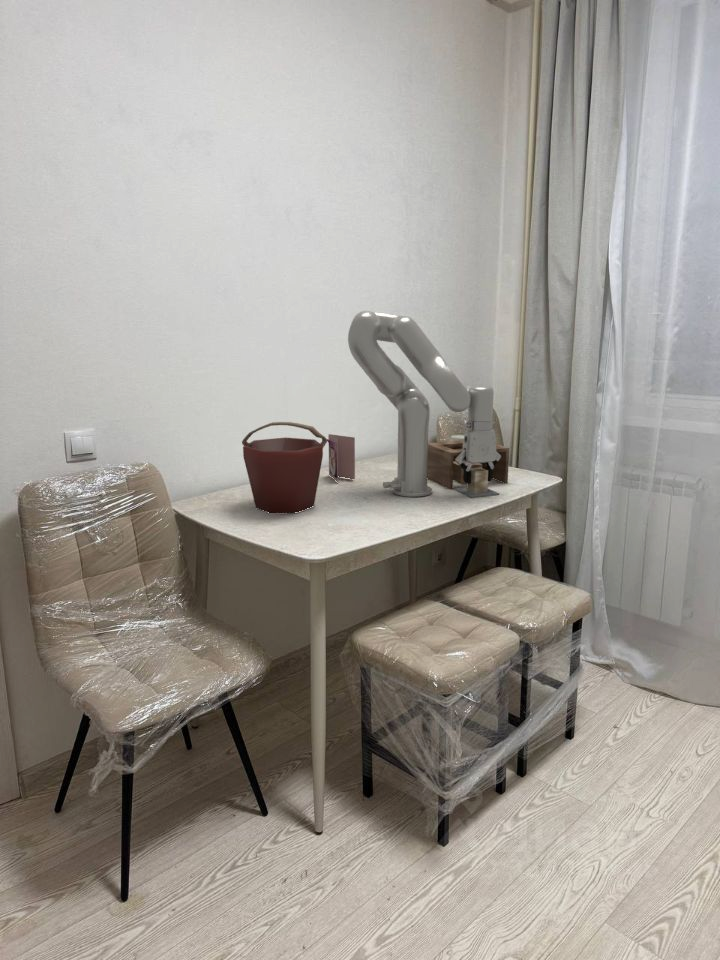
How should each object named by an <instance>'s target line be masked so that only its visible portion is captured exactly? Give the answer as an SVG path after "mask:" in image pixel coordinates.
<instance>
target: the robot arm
mask: <svg viewBox="0 0 720 960" xmlns="http://www.w3.org/2000/svg"><path fill="white" fill-rule="evenodd" d="M378 341H379V342H386V343H387V342H388V343H392V344H393V343H395V344H396V345H397V346H398V348H399V349H400V351H401V352H402V353H403V354H404V355H405V357H406V358H407V359H408V360H409V362H410V363H411V364H412V365H413V367H414V368H415V370H416V371H417V372H418V374H419V375H420V376H421V377H422V378H423V379H424V380H426V381H427V383H429V385H430V386H431V387H432V389H433V390H434V392H436V394H437V395H438V397H439V398H440V399H441V400H442V401H443V403H444V405H445V406H446V407H447V409H449V410H451V411H452V412H455V413H462V412H465V411H466V410H467V422H465V423H464V425H463V426H464V428H466V430H465V432H464V435H465V436H464V441H463V449H462V453H461V454H460V455H459V456H458V457H457V458H456V459H455V460H456V462H457V463H458V464H459V466H460V467H461V468H462V469H463V470H464V476H463V479H464V482H465V483H464V484H467V485H468V484H470V483H471V471H470V468H471V466H472V464H474V463H485V465H486V468H485V469H486V470H488V483H490V482H492V479H493V478H492V469H494V466H495V465H496V464H497V461H499V459H500V458H501V455H500V454H499V453H498V452H497V451H496V444H497V438H496V432H495V430H494V429H493V414H494V393H495V391H494V388H493V387H492V386H490V385H472V386H471V385H463V382H461V380H460V379H459V377H457V375H456V374H455V373H454V371H453V370H452V369H451V368H450V366H449V365H448V363H447V362H446V360H445V358H444V357H443V356H442V354H441V353H440V351H439V350H438V349H437V348H436V347H435V346H434V344H433V343H432V342H431V340H430V339H429V338H428V336H427V335H426V334H425V332H424V331H423V330H422V329H421V327H420V326H419V324H418V323H417V322H416V321H415V320H414V319H413V318H412V317H410V316H406V315H394V314H388V313H382V312H375V311H370V310H363V311H360V312H358V313H357V314H355V316H354V317H353V319H352V321H351V324H350V326H349V330H348V335H347V342H348V348H349V351H350V353H351V356H352V357H353V359H354V360H355V362H356V363H357V365H358V366H359V367H360V368H361V369H362V370H363V372H364V373H365V375H367V377H368V378H369V380H371V382H372V383H373V384H374V386H375V387H376V388H377V390H378V391H379V392H380V393H381V394H383V395H384V396H385V397H386V398H387V400H388V401H389V402H390V403H391V405H393V406H394V408H396V410H397V475H396V477H394V478H393V479H394V480H392V481H383V482H382V488H383V489H389V488H390V489H392V493H393V494H394V495H397V496H401V497H407V498H408V497H409V498H410V497H412V498H415V497H424V496H425V497H426V496H429V495H431V494H432V493H433V488H432V487H430V486H429V485H428V479H427V476H428V443H429V431H430V430H429V427H430V416H431V415H430V413H431V412H430V411H431V410H430V404H429V402H428V401H429V400H428V399H427V397H426V396H425V395H424V394H423V392H422V391H421V390H420V389H419V388H418V386H416V385H415V383H414V382H413V380H412V379H411V378H410V377H409V376H408V375H407V374H406V372H405V371H404V370H403V369H402V368H401V367H400V366H398V364H396V363H394V361H393V360H391V358H390V357H389V356H388V354H386V352H385V350H383V348H382V347H381V346H380V344H379V342H378ZM462 459H463V460H464V461H465V462H464V463H463V462H462Z"/></svg>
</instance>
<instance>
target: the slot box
mask: <svg viewBox="0 0 720 960" xmlns="http://www.w3.org/2000/svg"><path fill="white" fill-rule="evenodd" d="M463 441H464V440H462V441H450V440H448V441H440V442H439V441H438V442H428V476H427V478H428V479H427V480H430V481H432V482H434V483H436V484H438V485H440V486H442V485H443V486H442V487H444V488H446V487H447V489H448V488H449V490H453V486H454V483H453V481H454V482H456V483H459V484H460V483H461V484H460V485H463V484H462V483H464V484H466V483H465V482H464V479H463V476H464V470H463V469H462V468H461V467H460V466H459V464H458V463H457V462H456V460H455V459H456V458H457V457H458V456H459V455H460V454H461V453H462V449H463ZM496 451H497V452H498V453H499V454H500V455H501V458H500V459H499V461H497V464H496V465H495V466H494V469H492V478H491V479H493V478H494V479H493V480H495V479H496V481H498V480H499V482H500V481H502V482H501V483H503V482H504V483H503V484H508V482H509V481H508V480H509V463H510V447H507V446H505V445H501V444H498V443H496ZM462 462H463V463H464V462H465V461H464V460H463V459H462ZM471 468H483V469H485V468H486V465H485V463H474V464H472V466H471ZM471 468H470V469H471Z"/></svg>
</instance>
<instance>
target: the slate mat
mask: <svg viewBox="0 0 720 960" xmlns="http://www.w3.org/2000/svg"><path fill="white" fill-rule="evenodd" d="M455 491H456V492H458V493H460V494H462V495H465V496H466V497H469V498H470V499H475V498H483V497H484V498H485V497H492V496H493V495H494V496H499V495H500V492H497V491H495V490H492V489H490V488H488V487H487V492H483V493H473V492H471V491H468V487H461V488H455Z"/></svg>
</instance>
